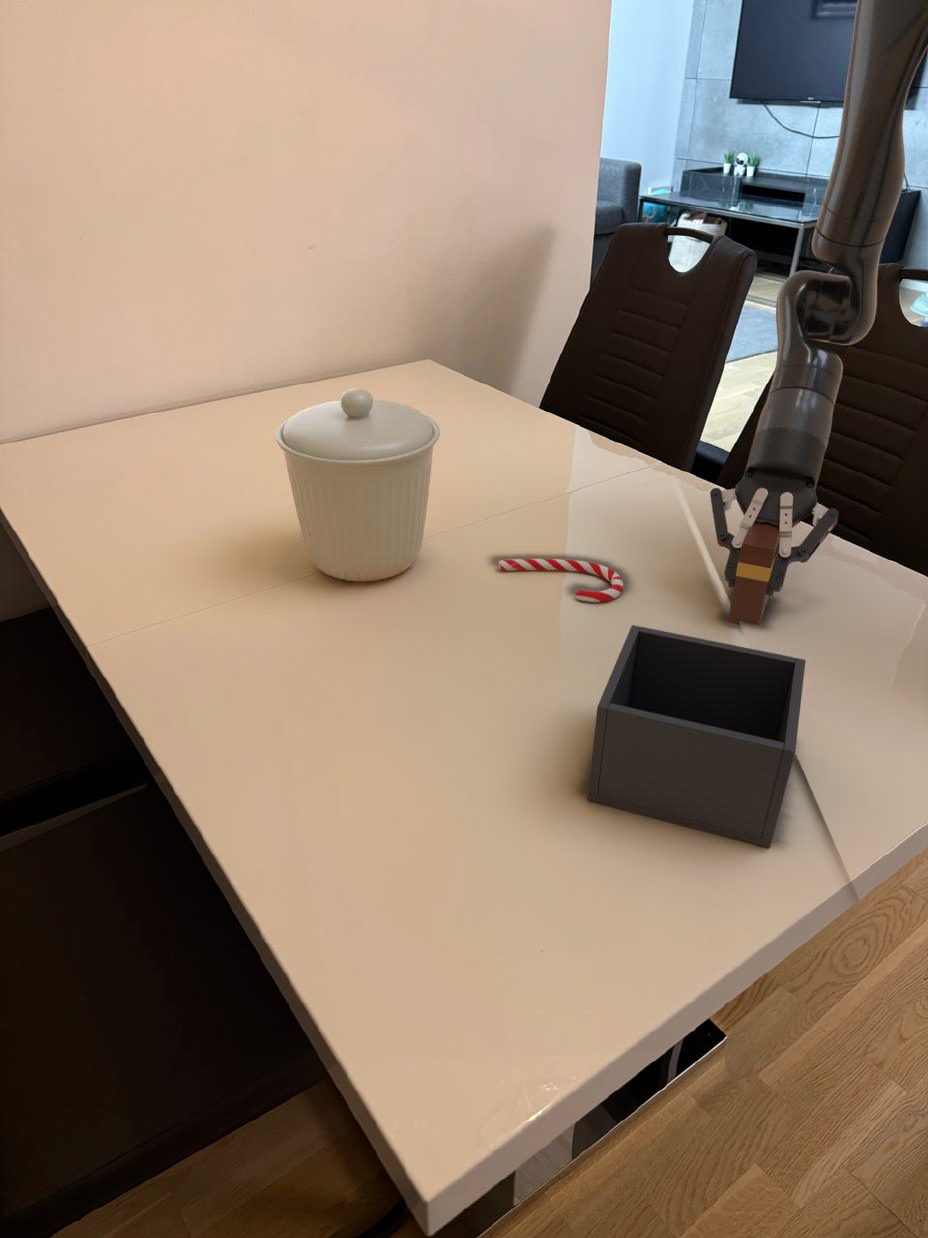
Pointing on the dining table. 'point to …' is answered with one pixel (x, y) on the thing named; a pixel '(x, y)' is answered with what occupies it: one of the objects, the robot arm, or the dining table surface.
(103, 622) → the dining table surface
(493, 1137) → the dining table surface
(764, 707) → the waste bin
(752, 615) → the chocolate box
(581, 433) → the dining table surface
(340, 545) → the canister
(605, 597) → the candy cane
